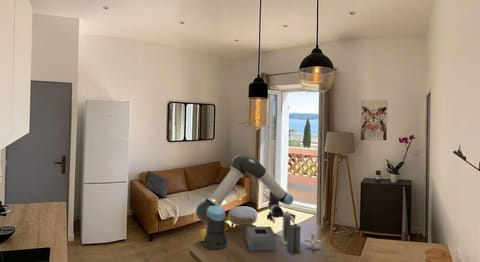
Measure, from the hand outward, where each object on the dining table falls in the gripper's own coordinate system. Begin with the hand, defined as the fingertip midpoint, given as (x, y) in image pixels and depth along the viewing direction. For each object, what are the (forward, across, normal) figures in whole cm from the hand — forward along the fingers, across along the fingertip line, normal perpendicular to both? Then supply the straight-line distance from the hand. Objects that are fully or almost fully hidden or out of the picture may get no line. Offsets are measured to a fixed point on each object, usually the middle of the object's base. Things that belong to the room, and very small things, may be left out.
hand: (284, 221), depth 199 cm
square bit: (+8, 0, -12) cm, 14 cm away
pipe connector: (+16, -14, -12) cm, 25 cm away
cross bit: (+18, -1, -12) cm, 22 cm away
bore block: (+9, +18, -12) cm, 23 cm away
